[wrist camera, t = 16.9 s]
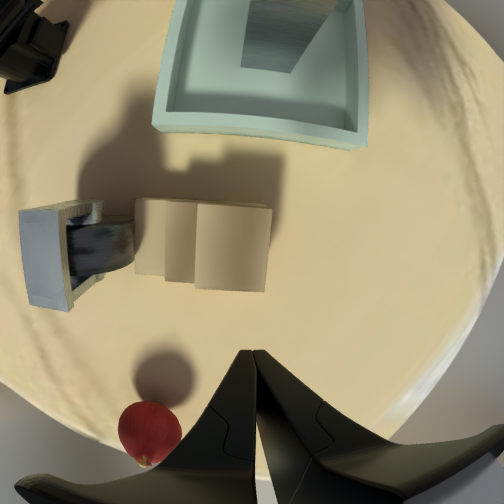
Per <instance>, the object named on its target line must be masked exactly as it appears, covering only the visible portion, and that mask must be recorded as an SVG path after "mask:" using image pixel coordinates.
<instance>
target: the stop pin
mask: <svg viewBox="0 0 504 504" xmlns="http://www.w3.org/2000/svg"><path fill="white" fill-rule="evenodd" d="M339 1H340V0H250V1H249V8H248V14H247V20H246V27H245V34H244V42H243V50H242V58H241V66H240V68H251V69H260V70H268V71H276V72H283V73H289V74H290V73H291V71H292V70H293V68H294V67H295V65H296V64H297V62H298V60H299V59H300V57H301V56H302V54H303V53H304V51H305V50H306V48H307V47H308V45H309V44H310V42H311V41H312V39H313V38H314V36H315V35H316V33H317V32H318V30H319V29H320V28H321V26H322V25H323V23H324V22H325V20H326V19H327V18H328V16H329V15H330V13H331V12H332V10H333V9H334V8H335V6H336V5H337V4H338V2H339Z"/></svg>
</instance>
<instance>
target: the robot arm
mask: <svg viewBox="0 0 504 504" xmlns="http://www.w3.org/2000/svg"><path fill="white" fill-rule="evenodd" d="M42 3H43V2H42V1H41V0H0V77H1V78H4V79H7V81H6V84H5V88H4V94H7V95H9V94H11V93H14V92H17V91H20V90H23V89H26V88H29V87H32V86H35V85H38V84H42V83H45V82H48V81H50V80H51V79H52V77H53V74H54V70H55V67H56V63H57V59H58V56H59V53H60V50H61V47H62V44H63V41H64V38H65V35H66V32H67V29H68V27H69V22H68V21H62V22H59V23H57V24H52V23H51V22H50V21H49V20H48V19H46V18H45V17H40V16H39V15H38V14H37V13H35V12H34V10H35V9H36V8H37V7H39V6H40V5H41V4H42ZM47 76H48V77H47ZM256 422H257V426H258V430H259V434H260V438H261V442H262V446H263V450H264V453H265V457H266V461H267V465H268V469H269V472H270V476H271V480H272V483H273V487H274V491H275V494H276V498H277V502H278V504H504V467H503V465H502V464H501V463H500V462H499V460H498V459H497V457H498V456H499V455H500V454H501V453H502V452H503V451H504V424H499V425H494V426H491V427H490V428H488V429H487V430H485V431H484V432H482V433H480V434H478V435H475V436H472V437H469V438H465V439H460V440H453V441H446V442H438V443H427V444H414V445H402V444H397V443H393V442H390V441H388V440H386V439H384V438H382V437H380V436H379V435H377V434H375V433H373V432H371V431H370V430H368V429H366V428H364V427H363V426H361V425H359V424H358V423H356V422H354V421H353V420H351V419H349V418H348V417H346V416H345V415H343V414H342V413H340V412H339V411H338V410H336V409H335V408H334V407H332V406H331V405H330V404H329V403H327V402H326V401H323V399H322V398H321V397H320V396H318V395H317V394H316V393H315V392H314V391H312V390H311V389H310V388H309V387H307V386H306V385H305V384H304V383H303V382H301V381H300V380H299V379H298V378H297V377H295V376H294V375H293V374H292V373H291V372H290V371H288V370H287V369H286V368H285V367H284V366H283V365H281V364H280V363H279V362H278V361H277V360H276V359H275V358H273V357H272V356H271V355H270V354H269V353H268V352H267V351H265V350H253V351H252V350H240V351H239V352H238V354H237V355H236V357H235V359H234V361H233V362H232V364H231V366H230V368H229V369H228V371H227V373H226V375H225V376H224V378H223V380H222V381H221V383H220V385H219V387H218V388H217V390H216V392H215V393H214V395H213V397H212V398H211V400H210V402H209V403H208V405H207V407H206V408H205V410H204V411H203V413H202V415H201V416H200V418H199V419H198V421H197V422H196V424H195V425H194V426H193V427H192V429H191V430H190V431H189V432H188V433H187V435H186V436H185V437H184V438H183V439H182V440H181V441H180V442H179V443H178V444H177V446H176V447H175V448H174V449H173V450H172V451H171V452H170V453H169V454H168V455H167V456H166V457H165V458H164V459H163V460H162V461H161V462H160V463H159V464H158V465H157V466H155V467H154V468H152V469H151V470H149V471H146V472H143V473H140V474H136V475H133V476H129V477H125V478H122V479H117V480H114V481H109V482H104V483H99V484H91V485H90V484H78V483H73V482H70V481H67V480H64V479H61V478H58V477H56V476H54V475H51V474H47V473H38V474H34V475H29V476H26V477H24V478H22V479H20V480H19V481H18V482H17V483H16V484H15V485H14V488H15V490H16V491H17V492H18V493H19V494H20V495H21V496H22V497H23V498H24V499H25V500H26V501H27V502H28V503H30V504H257V495H256V484H255V452H256Z"/></svg>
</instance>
